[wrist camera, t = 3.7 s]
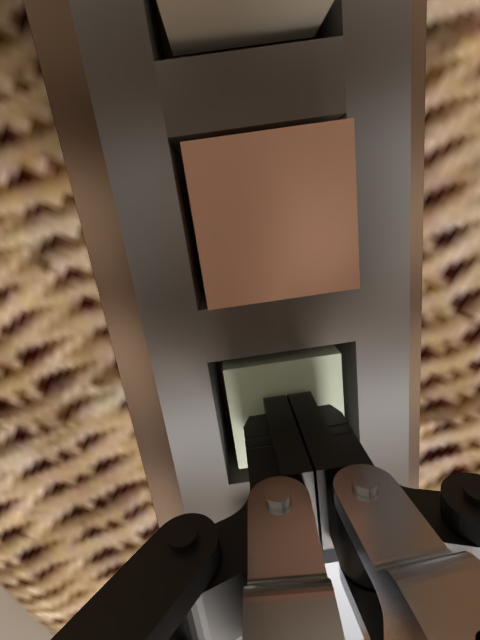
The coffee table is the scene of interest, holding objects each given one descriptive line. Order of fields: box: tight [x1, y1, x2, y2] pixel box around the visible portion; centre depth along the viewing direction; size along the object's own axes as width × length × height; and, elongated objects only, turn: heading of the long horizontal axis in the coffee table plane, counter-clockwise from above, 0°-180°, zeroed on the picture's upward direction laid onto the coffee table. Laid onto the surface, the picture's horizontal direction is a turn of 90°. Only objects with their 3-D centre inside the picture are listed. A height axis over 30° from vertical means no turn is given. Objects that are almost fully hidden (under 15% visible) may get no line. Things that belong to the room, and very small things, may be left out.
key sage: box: [223, 344, 345, 469], centre depth 13 cm, size 4×4×3 cm
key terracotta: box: [180, 118, 360, 310], centre depth 9 cm, size 4×4×3 cm
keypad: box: [23, 0, 427, 640], centre depth 12 cm, size 27×12×4 cm, turn 8°
